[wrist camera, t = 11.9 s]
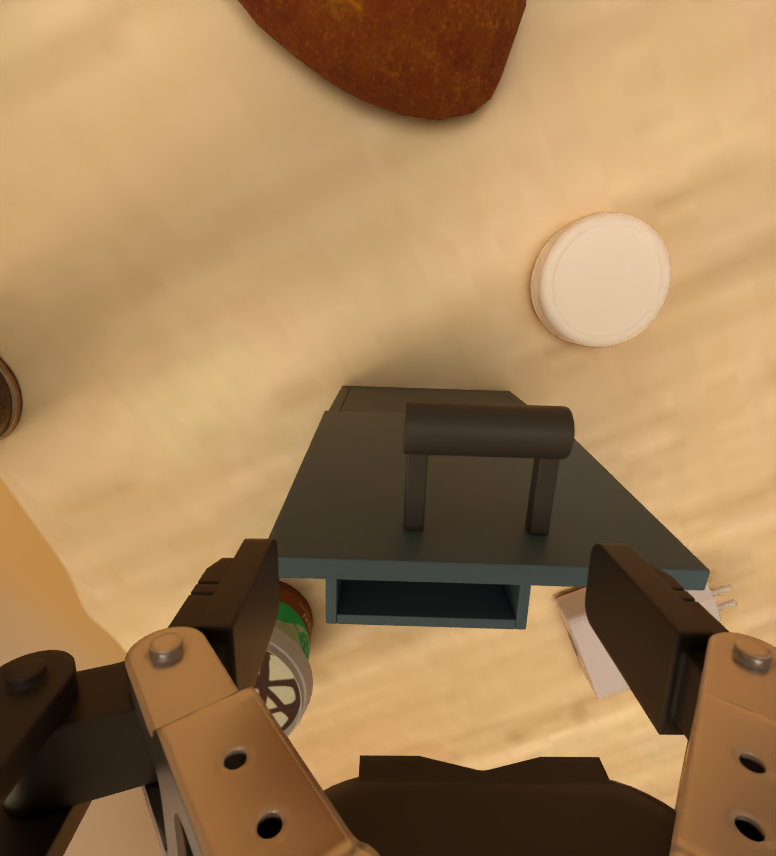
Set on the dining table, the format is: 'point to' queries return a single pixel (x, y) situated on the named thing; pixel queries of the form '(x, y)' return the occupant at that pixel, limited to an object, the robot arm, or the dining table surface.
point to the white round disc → (601, 280)
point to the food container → (288, 661)
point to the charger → (592, 651)
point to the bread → (400, 48)
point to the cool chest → (423, 599)
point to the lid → (462, 501)
